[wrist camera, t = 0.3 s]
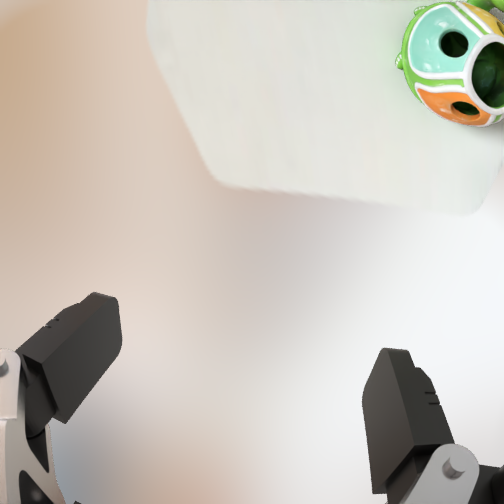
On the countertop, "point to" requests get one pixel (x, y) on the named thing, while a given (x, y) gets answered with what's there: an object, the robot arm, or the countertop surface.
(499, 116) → the turtle holder
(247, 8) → the countertop surface
